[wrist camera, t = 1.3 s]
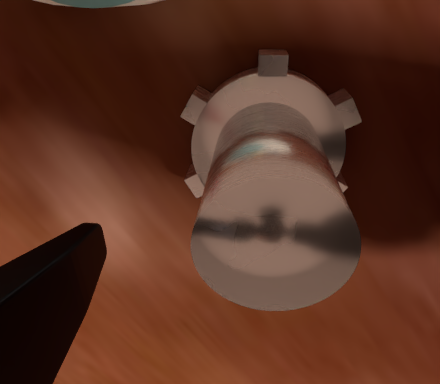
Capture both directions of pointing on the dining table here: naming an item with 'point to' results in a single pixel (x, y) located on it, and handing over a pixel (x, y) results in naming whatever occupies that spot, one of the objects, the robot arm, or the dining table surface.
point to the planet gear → (271, 187)
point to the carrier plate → (99, 3)
